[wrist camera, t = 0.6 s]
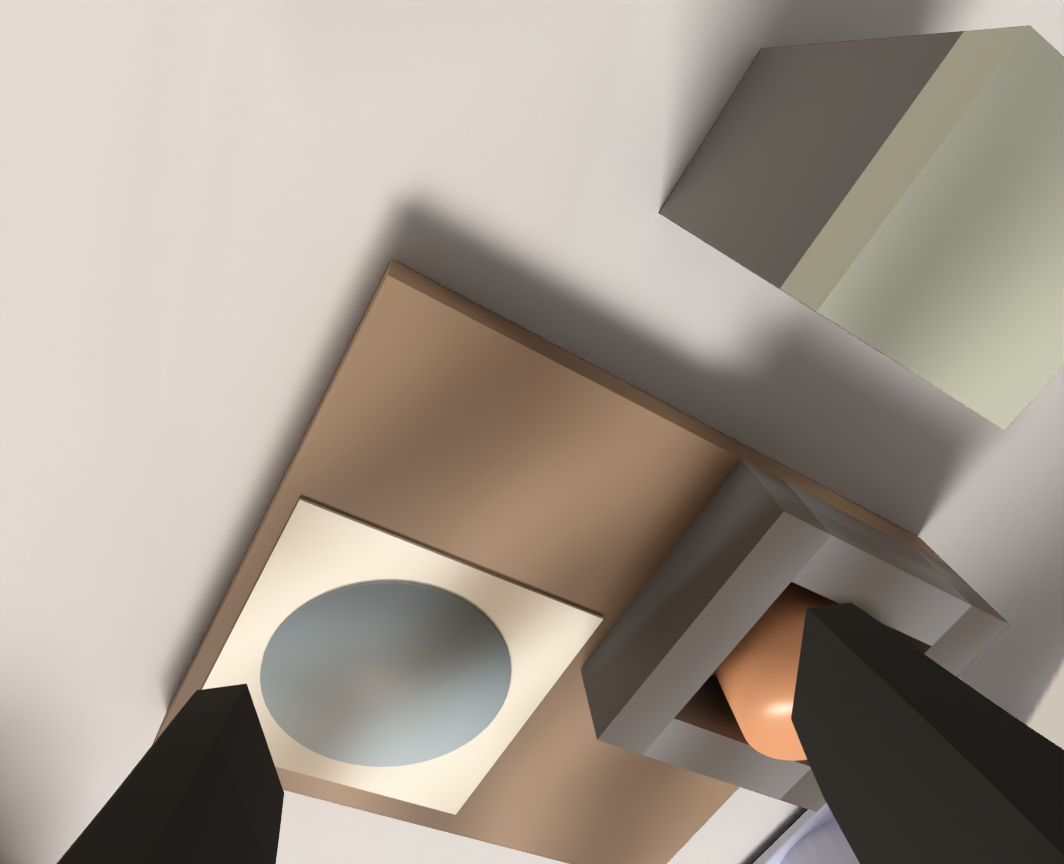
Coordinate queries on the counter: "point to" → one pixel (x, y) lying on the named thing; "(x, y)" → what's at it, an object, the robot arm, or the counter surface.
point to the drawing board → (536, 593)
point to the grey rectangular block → (903, 200)
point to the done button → (770, 674)
